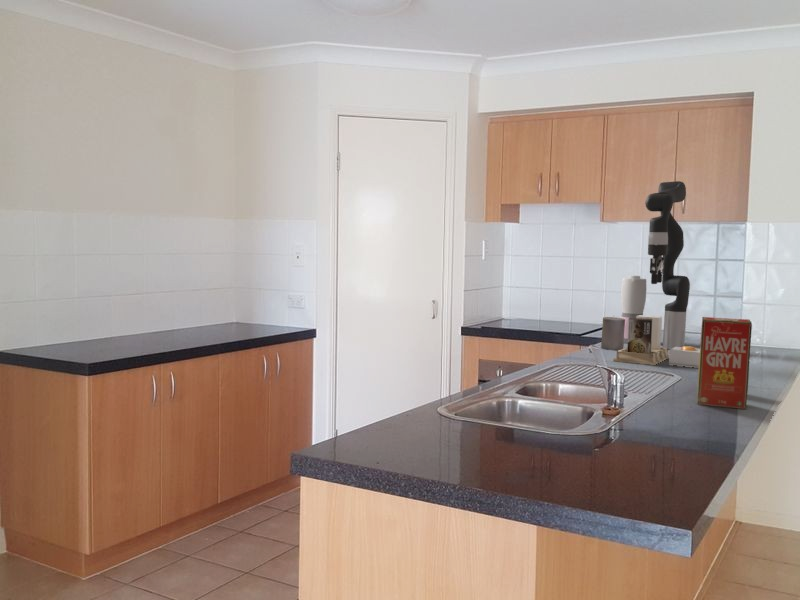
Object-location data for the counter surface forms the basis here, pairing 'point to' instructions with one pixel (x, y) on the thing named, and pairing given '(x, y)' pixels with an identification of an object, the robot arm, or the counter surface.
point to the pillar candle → (613, 333)
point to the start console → (684, 357)
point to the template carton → (655, 330)
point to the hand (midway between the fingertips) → (656, 283)
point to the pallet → (642, 356)
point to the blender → (632, 299)
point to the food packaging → (724, 362)
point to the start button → (689, 348)
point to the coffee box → (639, 335)
